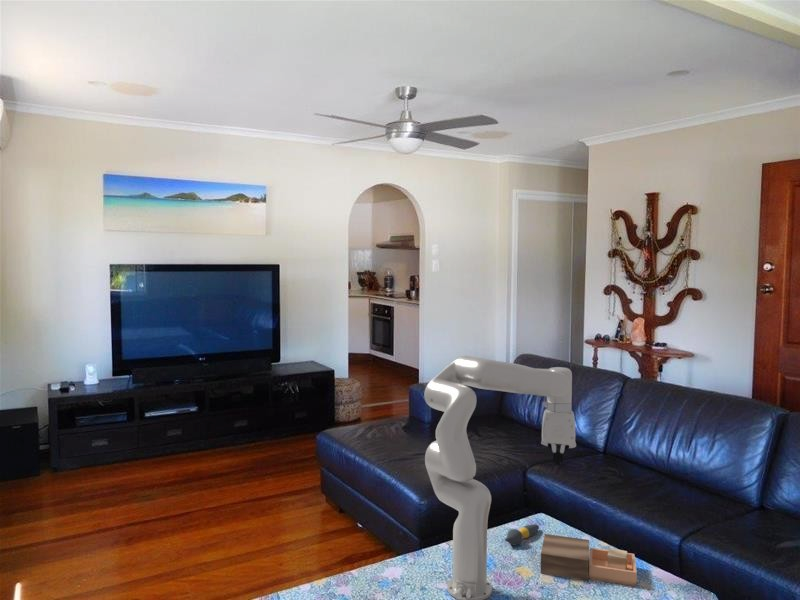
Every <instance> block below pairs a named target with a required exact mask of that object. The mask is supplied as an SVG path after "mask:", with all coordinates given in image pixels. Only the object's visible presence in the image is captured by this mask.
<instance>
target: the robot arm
mask: <svg viewBox="0 0 800 600" xmlns="http://www.w3.org/2000/svg"><path fill="white" fill-rule="evenodd" d="M572 382H573V373H572V370H571V369H570V368H568V367H563V366H561V367H560V366H556V367H555V366H554V367H550V368H534V367H531V366H527V365H522V364H519V363H515V362H508V361H501V360H496V359H495V360H494V359H488V358H482V357H481V358H480V357H475V356H471V355H470V356H469V355H462V356H460V357H458V358H456V359H455V360H453V361H452V362H451V363H449V364H448V365H447V366H445V367H444V368H443V369H442V370H441V371H439V373H437V374H436V375H435V376H434V377H433V378H432V379H431V380H429V382H428V383H427V385H426V386H425V388H424V394H423V396H424V397H423V398H424V401H425V403H426V405H428V406H429V407H430V408H431V409H434V410H437V411H441V412H443V414H442V416H441V417H440V420H439V421H438V424H437V426H436V429H435V439H436V440H434V441H432V442H431V443H430V444H429V445H428V446H427V448H426V451H425V455H424V465H425V468H426V471H427V474H428V477H429V479H430V483H431V486H432V489H433V492H434V494H435V496H436V497H437V499H438V500H439V501H440V502H441V503H443V504H445V505H447V506H448V507H451V508H452V509H454V510H456V511H458V515H457V517H456V519H455V521H454V523H453V528H452V578H450V579H449V580H448V582H447V585H446V586H447V592H448V593H449V595H451V596H452V597H453V598H454V599H456V600H486V599H489V598H490V596H491V595H492V593H493V586H492V584H491V582H490V581H489V580H488V579H487V577H488V575H487V574H488V573H487V572H488V570H487V568H488V520H489V515H490V509H491V504H492V494H491V492H490V490H489V488H488V487H487V486H486V485H485V484H483V483H482V482H481V481H479V480H476V479H474V477H475V476H476V472H477V464H476V460H475V457H474V453H473V450H472V447H471V445H470V444H471V443H470V441H469V437H468V433H467V427H468V423H469V421H470V419H471V417H472V415H473V413H474V411H475V409H476V407H477V402H478V401H477V395H476V392H475V391H474V390H473V389H472V388H477V389H479V390H480V389H482V390H489V391H498V392H507V393H514V394H519V395H520V394H521V395H532V396H533V395H534V396H539V397H540V396H541V397H546V401H542V402H541V406H542V407H545V408H546V409H544V411H543V416H542V423H541V442H540V444H541V445H543V446H546V447H548V448H549V449H550V451H552V454H553V455H552V456H553V457H552V458H553V459H552V462H554V466H561V464H562V463H564V453H565V452H566V451H567V450H568V449H574V448H576V447H577V443H576V419H575V414H574V411H573V410H572V404H573V403H572V402H573V401H572V399H573V398H572V396H573V392H572V391H573V387H572V386H573V383H572ZM471 387H472V388H471ZM557 445H560V448H559V449H558V448H557Z"/></svg>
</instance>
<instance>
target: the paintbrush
mask: <svg viewBox="0 0 800 600" xmlns="http://www.w3.org/2000/svg"><path fill="white" fill-rule="evenodd" d="M539 529H540V526H539V525H538V524H534V523H533V524H527V525H524V526H522V527H521V528H520V529H517V528H515V529H510V530H509V531H508V532H507V534H506V535H507V536H506V538H505V539H504V541H505V542H508V544H510V545H512V546H519V545H521V543H522V541H523V539H528V538H531V537H532V536H534V535H535V534H536V533H538V531H539Z"/></svg>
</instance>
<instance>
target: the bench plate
mask: <svg viewBox="0 0 800 600" xmlns="http://www.w3.org/2000/svg"><path fill="white" fill-rule="evenodd" d="M589 556H590V539H586V538H579V537H578V538H577V537H570V536H563V535H555V534H550V533H544V537H543V542H542V546H541V552H540V574H545V575H549V576H557V577H563V578H570V579H577V580H583V581H589Z"/></svg>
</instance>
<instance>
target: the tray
mask: <svg viewBox="0 0 800 600" xmlns="http://www.w3.org/2000/svg"><path fill="white" fill-rule="evenodd" d="M608 552H609V549H601V548H594V547H589V571H588V580H593V581H598V582H606V583H612V584H618V585H626V586H631V587H637V583H638V576H637V575H638V573H637V564H636V562H637V561H636V557H635V553H632V552H631V553H630V552H627V569H626V570H623V569H616V568H610V567H607V557H608Z"/></svg>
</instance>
